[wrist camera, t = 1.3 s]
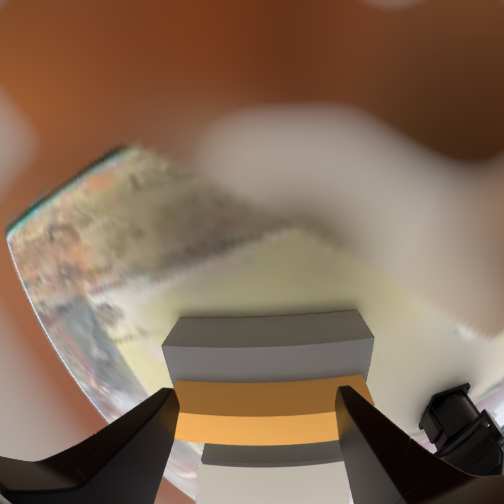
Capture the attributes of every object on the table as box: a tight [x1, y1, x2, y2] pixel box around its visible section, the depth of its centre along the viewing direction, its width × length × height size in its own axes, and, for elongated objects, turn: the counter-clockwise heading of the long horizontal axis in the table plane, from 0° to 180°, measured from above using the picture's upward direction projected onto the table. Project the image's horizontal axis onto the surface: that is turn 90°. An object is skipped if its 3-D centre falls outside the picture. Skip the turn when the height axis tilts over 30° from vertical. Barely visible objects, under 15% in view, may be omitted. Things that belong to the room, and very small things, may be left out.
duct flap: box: [196, 461, 349, 504], centre depth 18 cm, size 15×6×1 cm
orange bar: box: [173, 374, 375, 445], centre depth 17 cm, size 14×4×4 cm, turn 94°
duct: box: [161, 310, 374, 468], centre depth 22 cm, size 15×22×4 cm, turn 4°
